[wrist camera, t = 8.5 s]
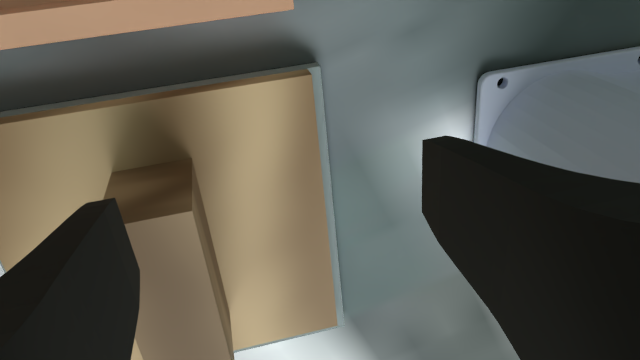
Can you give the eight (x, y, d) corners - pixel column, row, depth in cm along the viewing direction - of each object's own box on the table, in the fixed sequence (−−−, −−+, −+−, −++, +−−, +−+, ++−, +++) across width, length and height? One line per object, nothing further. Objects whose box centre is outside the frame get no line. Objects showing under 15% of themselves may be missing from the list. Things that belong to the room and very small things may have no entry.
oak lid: (307, 69, 19) (339, 110, 15) (333, 314, 26) (361, 391, 22) (-55, 126, 17) (-131, 191, 13) (70, 377, 24) (45, 474, 20)
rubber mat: (317, 62, 20) (320, 66, 19) (341, 318, 27) (344, 326, 26) (-62, 121, 18) (-70, 127, 17) (69, 382, 25) (66, 392, 24)
